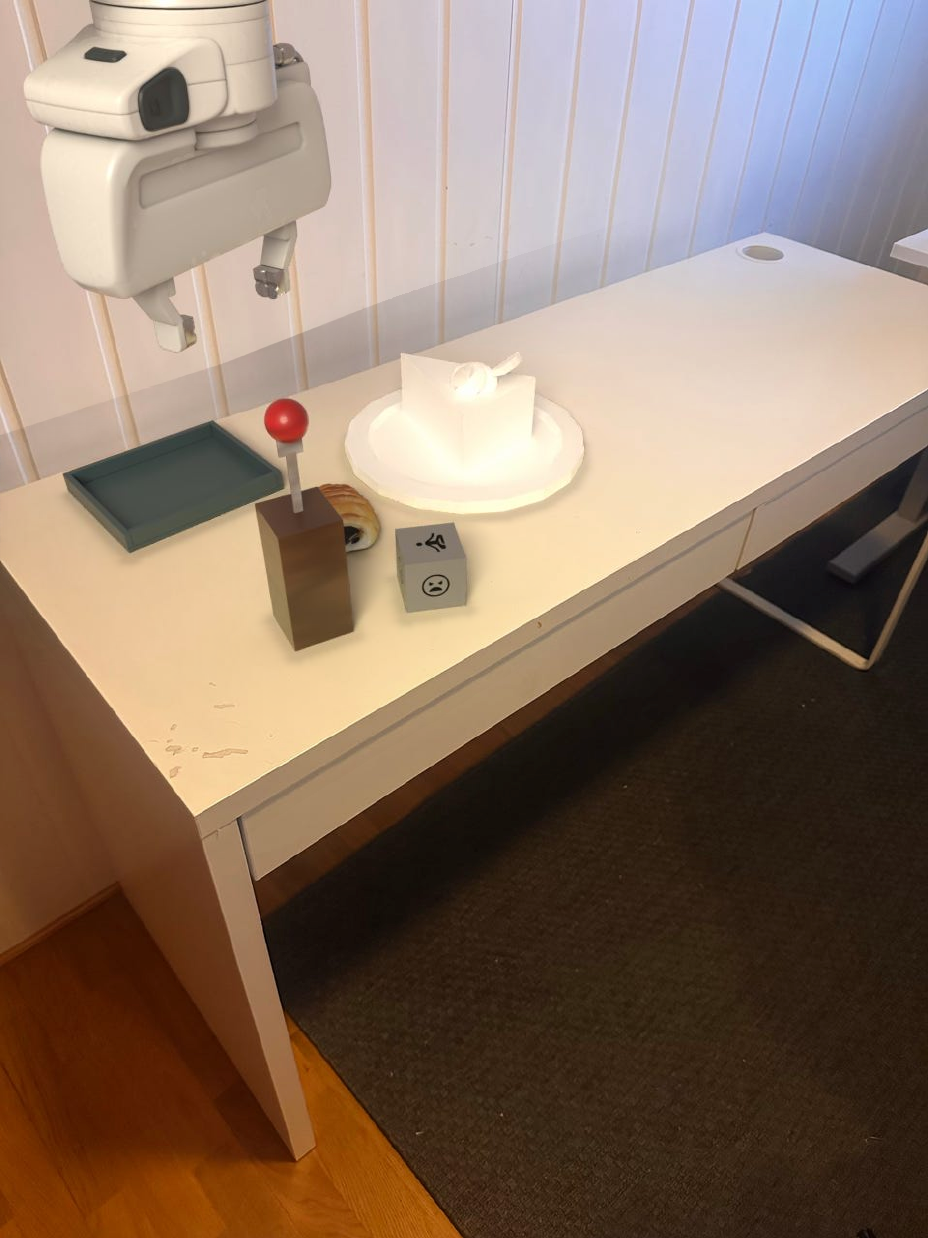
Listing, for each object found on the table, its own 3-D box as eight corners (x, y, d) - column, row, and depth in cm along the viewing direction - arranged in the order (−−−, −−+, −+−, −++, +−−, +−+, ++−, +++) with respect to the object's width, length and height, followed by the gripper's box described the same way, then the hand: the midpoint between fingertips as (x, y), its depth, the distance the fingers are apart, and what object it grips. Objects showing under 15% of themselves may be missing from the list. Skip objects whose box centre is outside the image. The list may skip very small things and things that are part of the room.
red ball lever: (295, 651, 70) (260, 425, 57) (273, 614, 74) (235, 393, 60) (353, 631, 72) (333, 408, 59) (329, 596, 75) (305, 377, 62)
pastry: (297, 504, 86) (292, 470, 83) (366, 495, 87) (364, 461, 85) (311, 562, 79) (307, 527, 76) (386, 551, 80) (384, 516, 78)
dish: (629, 443, 95) (644, 342, 88) (472, 546, 81) (475, 435, 74) (458, 371, 107) (459, 277, 100) (296, 449, 93) (284, 346, 86)
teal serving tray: (129, 553, 80) (123, 535, 78) (67, 490, 87) (62, 473, 86) (284, 488, 88) (281, 471, 86) (215, 436, 95) (212, 419, 94)
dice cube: (465, 605, 75) (466, 557, 72) (406, 612, 74) (404, 565, 71) (453, 569, 78) (453, 522, 75) (397, 575, 78) (395, 528, 74)
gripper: (261, 32, 55) (285, 259, 64) (-8, 89, 41) (71, 369, 50) (347, 42, 53) (359, 276, 62) (95, 107, 39) (158, 395, 48)
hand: (228, 319), depth 56 cm, fingers open, 8 cm apart
